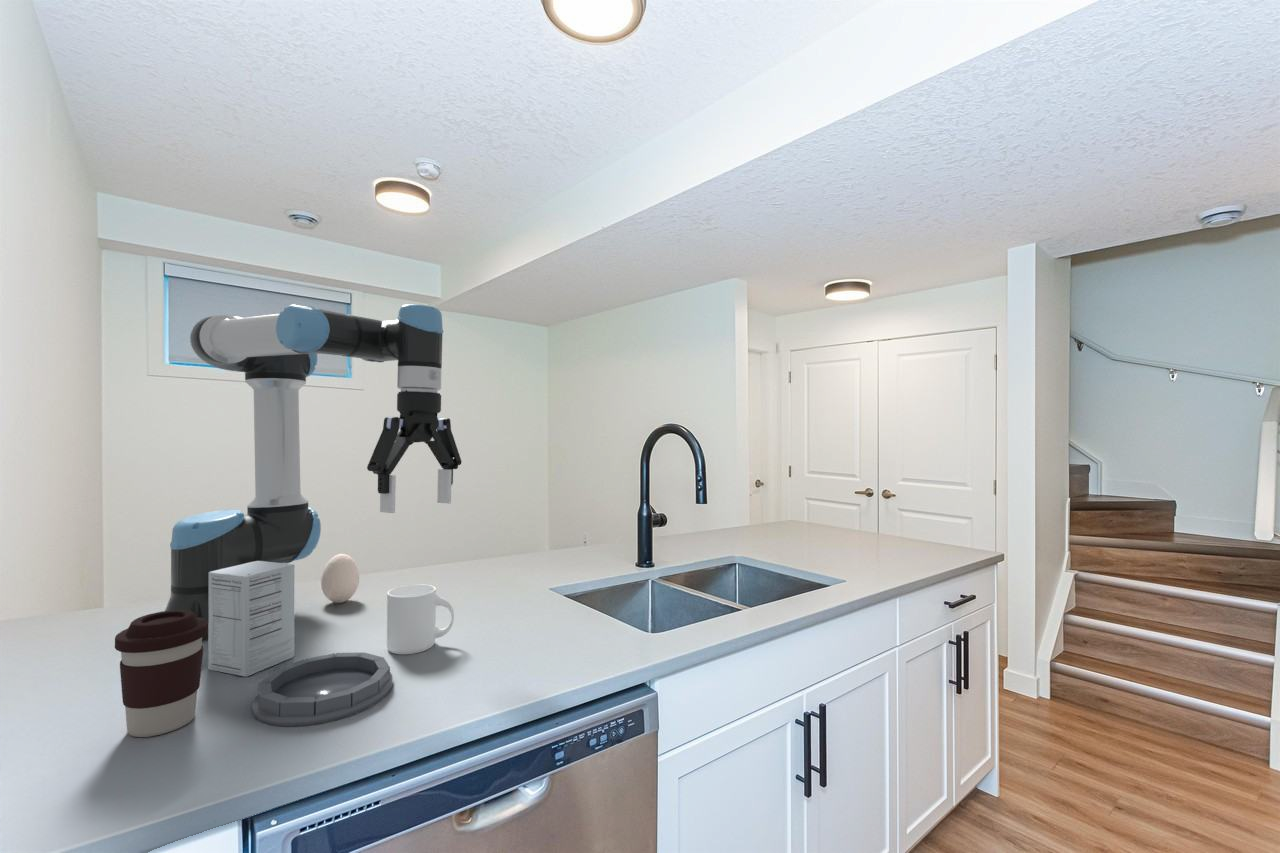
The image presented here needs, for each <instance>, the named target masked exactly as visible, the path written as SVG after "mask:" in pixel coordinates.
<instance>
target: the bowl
mask: <svg viewBox="0 0 1280 853" xmlns="http://www.w3.org/2000/svg"><path fill="white" fill-rule="evenodd" d="M390 668H391V667H390V665H389V663H388V661H387V660H386V659H385V657H383V656H379V655H377V654H376V655H375V654H372V653H368V652H336V653H330V654H325V655H324V654H323V655H317V656H314V657H308V658H304V659H300V660H298V661H295V662H293V663H290V664H288V665H285V666H282V667H280V668H277V669H275V670H273V671H272V672H270V674H268V675H267V676H266V677H264V678H263V679H262V680H260V681H259V682H258V683H257V694H256V695H255V696H254V698H253V700H252V707H251V711H252V715H253V717H254V718H255V719H257V721H258V722H261V723H263V724H267V725H270V726H277V727H285V728H286V727H292V728H293V727H307V726H315V725H321V724H326V723H330V722H335V721H338V720H341V719H345V718H348V717H351V716H353V715H356V714H359V713H361V712H363V711H366V710H368V709H370V708H371V707H373V706H375V705H376V704H378V703H379V702H381V701H382V700H384V699H385V698H386V697H387V696H388V694H390V692H391V691H392V689H393V674H392V672H391V669H390Z"/></svg>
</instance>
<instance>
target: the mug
mask: <svg viewBox="0 0 1280 853" xmlns="http://www.w3.org/2000/svg"><path fill="white" fill-rule="evenodd" d="M386 594H387V595H386V648H387V650H388V651H389V652H390V653H392V654H394V655H403V656H404V655H413V654H418V653H421V652H425V651H427V650H429V649H430V648H432V647H433V646H434V644H435V642H436V639H438V638H441V637H444V636H446V635H447V634H448V633H449V632H450V630H451V629H452V626H453V625H454V620H455V612H454V608H453V606H452V605H451V603H450V602H449V601H448V600H447V599H445V598H444V597H442V596H440V595H437V588H436V587H435V586H434V585H430V584H425V583H424V584H422V583H421V584H420V583H416V584H415V583H414V584H407V585H405V584H404V585H399V586H397V587H394V588H391V589H389V590H388V591H387V593H386ZM437 606H439V607H440V606H441V607H444V608H446V609H448V610H449V612H450V614H451V620H450V622H449V623H448V625H447V626H445V627H444V628H440V627H436V624H437V622H436V619H437V618H436V616H437V614H436V613H437V608H436V607H437Z"/></svg>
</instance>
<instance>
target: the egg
mask: <svg viewBox="0 0 1280 853" xmlns="http://www.w3.org/2000/svg"><path fill="white" fill-rule="evenodd" d="M321 573H322V574H321V577H320V578H321V579H320V581H321V582H320V584H321V590H322V593H323V595H324V596H325V598H326V599H328V600H329V601H331V603H336V604H341V603H345V602H346V601H348V600H350V599H351V598H352V597H353V596H354V595H355V593H356V592H357V590H358V587H359V585H360V572H359V568H358V565H357V564H356V561H355V560H354V559H353V558H352V557H351V556H350V555H348V554H345V553H338V554H336V555H334V556H333V557H331V558H330V559H329V560H328V561H327V563H326V565H325V566H324V569H323V570H322V572H321Z"/></svg>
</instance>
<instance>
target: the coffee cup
mask: <svg viewBox="0 0 1280 853" xmlns="http://www.w3.org/2000/svg"><path fill="white" fill-rule="evenodd" d="M207 632H208V621H207V620H205V619H203V618H198V617H196V615H195V614H194V612H192V611H189V610H170V611H165V610H164V611H158V612H157V611H156V612H154V613H153V612H152V613H149V614H145V615H142V616H139V617H137V618H135V619H132V621H131V622H130V623H129V626H128V628H125V629H123V630H121V631H120V632H119V633H117V634H116V635H115V637H114V649H115V650H116V651H118V652H120V655H121V656H120V657H121V660H120V661H119V674H120V685H121V698H122V705H123V706H124V708H125V719H126V731H127V733H128V734H129V735H130V736H132V737H135V738H148V737H154V736H159V735H165V734H167V733H171V732H173V731H176V730H178V729H180V728H182V727H184V726H186V725H187V724H189V723H190V722H191V721H192V720H194V717H195V715H196V706H197V698H198V690H199V688H200V685H201V673H202V665H203V664H202V663H203V654H204V646H203V640H202V637H203V636H205V635H206V634H207Z"/></svg>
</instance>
